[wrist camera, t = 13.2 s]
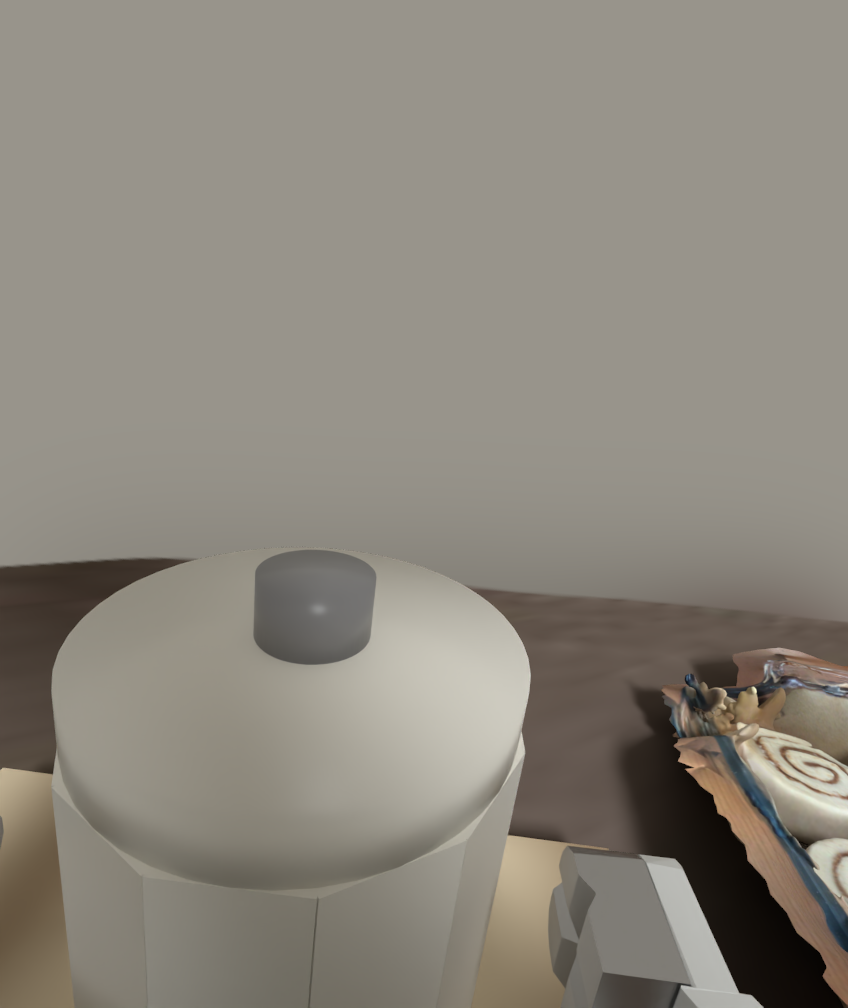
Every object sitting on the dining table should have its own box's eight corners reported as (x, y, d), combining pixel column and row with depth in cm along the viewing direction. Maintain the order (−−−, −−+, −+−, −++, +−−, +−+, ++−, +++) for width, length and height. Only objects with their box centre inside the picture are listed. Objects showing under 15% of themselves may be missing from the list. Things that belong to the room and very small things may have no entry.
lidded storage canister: (-9, 1264, 8) (-135, 679, 5) (197, 846, 14) (194, 487, 11) (453, 1324, 8) (601, 773, 5) (450, 879, 14) (513, 526, 11)
